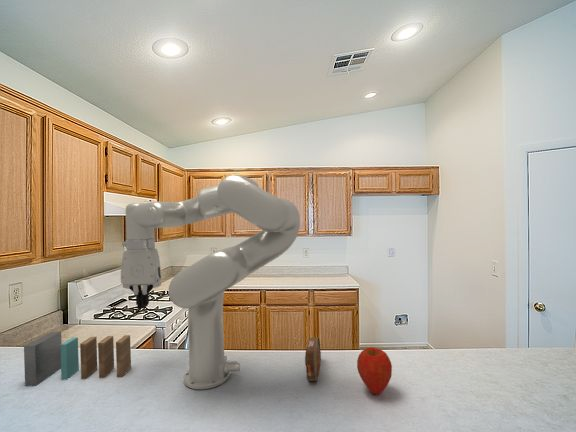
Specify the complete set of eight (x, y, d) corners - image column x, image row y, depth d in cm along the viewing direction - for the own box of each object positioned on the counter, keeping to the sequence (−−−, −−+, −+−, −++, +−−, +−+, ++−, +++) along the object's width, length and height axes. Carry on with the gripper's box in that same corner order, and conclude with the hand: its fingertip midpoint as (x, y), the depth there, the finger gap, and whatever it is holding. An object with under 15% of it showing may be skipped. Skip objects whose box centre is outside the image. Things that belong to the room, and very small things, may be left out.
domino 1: (78, 370, 90) (77, 337, 90) (67, 379, 85) (66, 344, 85) (73, 370, 90) (72, 337, 90) (61, 379, 85) (60, 344, 85)
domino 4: (131, 368, 91) (130, 335, 91) (122, 376, 86) (121, 342, 86) (125, 368, 91) (124, 335, 91) (116, 377, 86) (115, 342, 86)
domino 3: (114, 368, 91) (113, 335, 91) (104, 377, 86) (103, 342, 86) (108, 369, 91) (107, 336, 91) (99, 378, 86) (98, 343, 86)
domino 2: (97, 369, 91) (96, 336, 91) (86, 378, 86) (85, 343, 86) (92, 369, 91) (91, 336, 91) (81, 378, 86) (80, 343, 86)
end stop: (62, 367, 93) (61, 331, 93) (36, 385, 83) (35, 345, 83) (52, 367, 93) (51, 332, 93) (25, 386, 83) (23, 346, 83)
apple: (350, 388, 77) (349, 345, 77) (377, 379, 80) (375, 339, 80) (372, 407, 69) (371, 360, 69) (400, 397, 73) (399, 352, 73)
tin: (316, 388, 78) (315, 355, 78) (304, 387, 78) (303, 354, 78) (321, 360, 92) (320, 332, 92) (311, 359, 93) (310, 332, 93)
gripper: (107, 247, 85) (109, 312, 85) (161, 245, 85) (163, 310, 85) (121, 244, 92) (123, 304, 92) (171, 243, 93) (172, 302, 93)
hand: (142, 307), depth 89 cm, fingers closed
